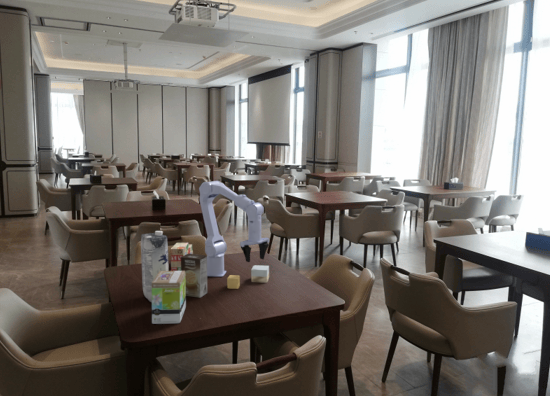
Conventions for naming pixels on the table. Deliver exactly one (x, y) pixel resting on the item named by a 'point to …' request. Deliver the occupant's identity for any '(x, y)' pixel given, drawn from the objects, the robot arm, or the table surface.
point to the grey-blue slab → (260, 271)
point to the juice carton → (153, 259)
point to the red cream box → (179, 254)
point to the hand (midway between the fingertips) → (254, 260)
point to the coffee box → (195, 274)
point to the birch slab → (260, 278)
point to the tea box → (168, 297)
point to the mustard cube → (233, 281)
